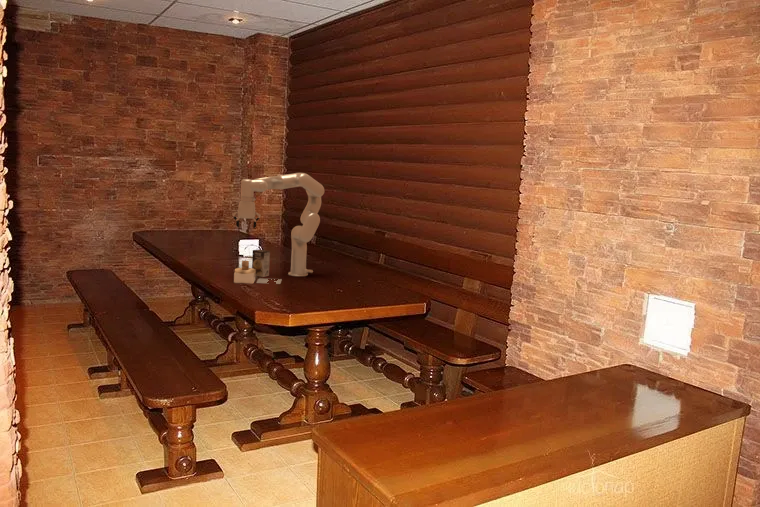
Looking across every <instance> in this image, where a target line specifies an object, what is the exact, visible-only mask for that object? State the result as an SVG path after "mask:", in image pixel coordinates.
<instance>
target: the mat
mask: <svg viewBox="0 0 760 507" xmlns="http://www.w3.org/2000/svg"><path fill="white" fill-rule="evenodd" d="M268 279H269V278H264V277H259V278H257V280H256V281H255V282H256V284H268V283H267V282H268V281H269V280H268ZM270 279H271V280H272V279H274V280H275V279H276V278H270ZM277 279H278V280H277V281H274V282H276V284H275V285H281V283H282V281H283V280H282V278H280V279H279V278H277Z"/></svg>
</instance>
